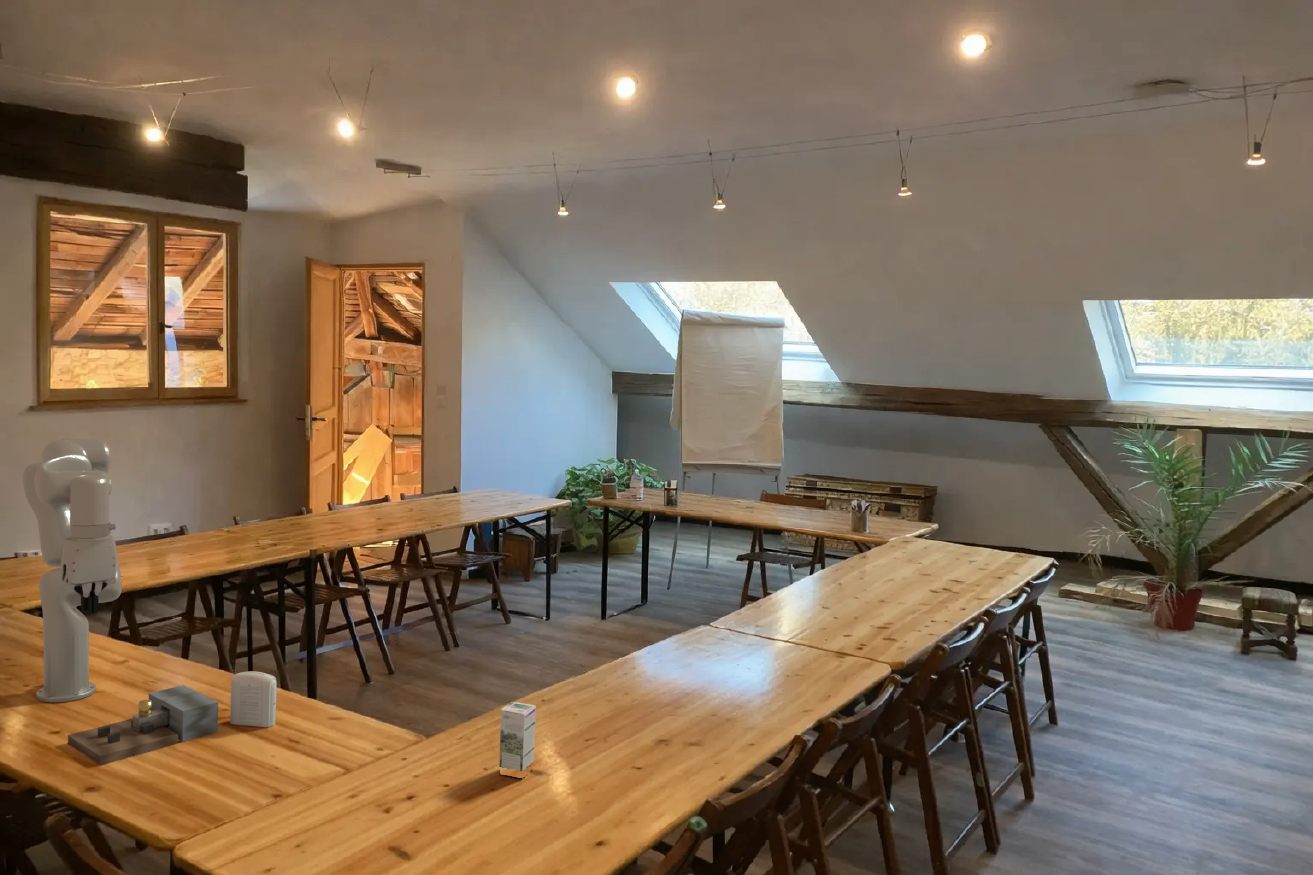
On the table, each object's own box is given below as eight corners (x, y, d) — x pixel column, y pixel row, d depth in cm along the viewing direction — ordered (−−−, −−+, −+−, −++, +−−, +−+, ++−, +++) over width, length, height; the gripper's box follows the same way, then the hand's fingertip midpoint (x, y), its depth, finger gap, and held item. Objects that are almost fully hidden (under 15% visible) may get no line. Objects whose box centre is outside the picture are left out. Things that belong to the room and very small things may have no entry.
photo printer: (278, 721, 227) (279, 670, 226) (270, 728, 222) (271, 676, 221) (236, 718, 227) (237, 667, 226) (227, 725, 223) (227, 673, 222)
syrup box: (534, 769, 207) (537, 704, 206) (522, 780, 201) (524, 713, 200) (510, 765, 209) (513, 699, 208) (497, 775, 203) (500, 708, 202)
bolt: (139, 732, 211) (139, 705, 211) (132, 728, 213) (132, 702, 213) (193, 717, 221) (193, 692, 220) (186, 714, 223) (186, 689, 222)
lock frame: (100, 765, 199) (100, 732, 199) (67, 743, 209) (67, 712, 208) (217, 731, 219) (218, 701, 219) (183, 713, 229) (183, 684, 228)
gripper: (117, 525, 221) (117, 604, 222) (45, 532, 209) (45, 615, 210) (132, 530, 216) (132, 610, 218) (59, 537, 204) (59, 622, 206)
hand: (89, 612), depth 214 cm, fingers closed
